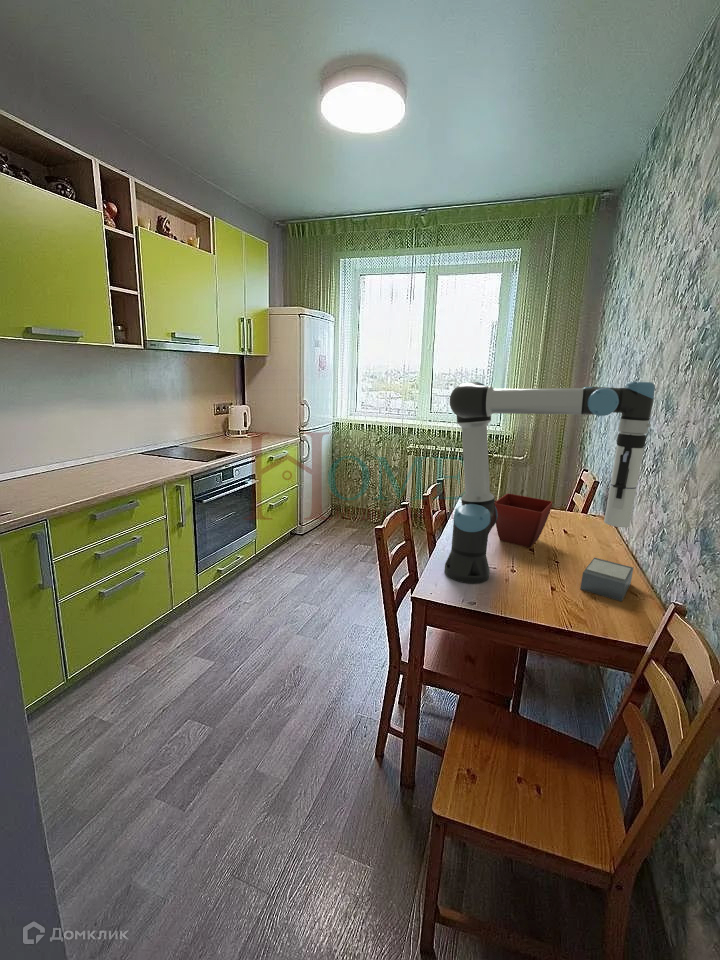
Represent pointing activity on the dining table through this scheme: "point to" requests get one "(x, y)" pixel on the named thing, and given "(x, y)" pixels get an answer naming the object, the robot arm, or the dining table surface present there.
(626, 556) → the dining table surface
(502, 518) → the plant pot
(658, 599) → the dining table surface
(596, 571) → the grey rectangular block
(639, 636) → the dining table surface
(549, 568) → the dining table surface
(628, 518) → the cylindrical container
